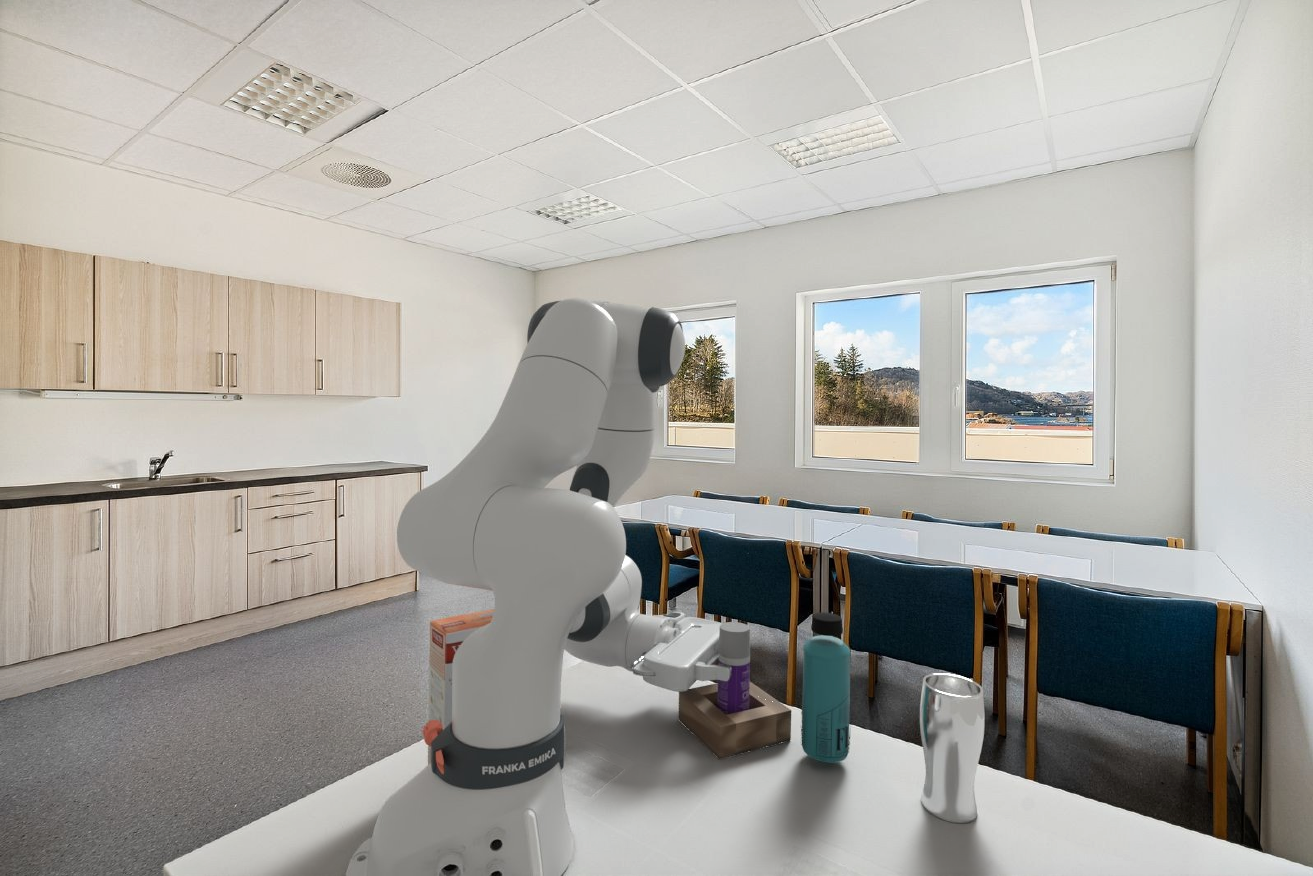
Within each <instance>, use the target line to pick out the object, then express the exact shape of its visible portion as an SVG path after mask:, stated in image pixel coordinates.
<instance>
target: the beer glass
mask: <svg viewBox="0 0 1313 876" xmlns="http://www.w3.org/2000/svg"><path fill="white" fill-rule="evenodd" d="M921 689H922V690H921V696H920V705H919V725H920V726H919V727H920V736H921V744H922V750H923V756H924V764H925V779H924V784H923V785H924V786H923V789H922V792H921V797H920V800H921V803H922V806H923V807H924V808H925V809H926V810H927V812H929V813H930V814H932V815H933V816H934V817H937V818H938V819H941V820H942V821H943V820H944V821H945V822H946V821H947V822H950V823H956V824H967V823H971V822H973V821H974V820H976V818H977V816H978V809H977V808H978V807H977V801H976V795H975V778H976V774H977V769H978V765H979V761H980V756H981V753H982V748H983V742H984V737H985V736H984V735H985V704H984V688H983V687H982V686H981V685H980V684H979V683H978V682H976V681H974V680H972V679H969V678H967V677H964V676H961V675H956V674H951V673H945V672H944V673H943V672H942V673H939V672H938V673H937V672H936V673H930V674H927V675H925V676H923V679H922V687H921Z"/></svg>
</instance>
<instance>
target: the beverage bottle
mask: <svg viewBox="0 0 1313 876" xmlns="http://www.w3.org/2000/svg"><path fill="white" fill-rule="evenodd" d="M810 625H811V626H810V629H811V632H813V633H815V634H817V635H815V636H813V637H811V638H810V639H808V640H807V641H806V642H805V643H803V646H802V647H803V648H802V651H803V653H802V654H803V658H802V659H803V662H802V666H803V667H802V693H801V694H802V695H801V697H802V698H801V710H800V711H801V712H800V715H801V717H800V718H801V725H800V739H801V743H800V745H801V747H802V750H803V751H804V753H805V755H807V756H808V757H810V758H811V759H814V760H816V761H819V762H824V763H840V762H842V761H845V760H846V759H847V757H848V756H849V753H850V750H851V749H850V748H851V745H850V744H851V735H850V725H851V721H850V719H851V714H852V713H851V710H852V708H851V702H850V701H851V699H850V696H851V695H850V694H851V691H852V688H851V655H852V653H851V649H850V647H849V646H848V645H847V644H846V643H845V642H844V641H843V640H842V639H840V638H838V637H837V636H841V635H842V634H843V633H844V630H843V629H844V628H843V618H842V617H841V616H840V615H838V614H835V613H832V612H817V613H814V614H813V615H812V619H811V624H810Z"/></svg>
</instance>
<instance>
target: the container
mask: <svg viewBox="0 0 1313 876" xmlns="http://www.w3.org/2000/svg"><path fill="white" fill-rule="evenodd" d="M750 631H751V628H750V626H749V625H748V624H746V623H742V622H737V621H736V622H734V621H729V622H728V621H727V622H722V624H721V625H720V632H719V654H718V658H717V665H719V664H725V665H730V666H731V668H732V671H731V673H732V675H731V677H730V678H729V680H728V681H721V680H717V683H718V703H717V708H718V709H720V710H721V711H722V712H723V713H724V714H726V715H728V714H732V713H737V712H741V711H745V710H749V688H750V682H751V680H750V677H751V675H750V674H751V632H750Z"/></svg>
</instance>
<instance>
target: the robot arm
mask: <svg viewBox="0 0 1313 876" xmlns="http://www.w3.org/2000/svg"><path fill="white" fill-rule="evenodd" d="M527 329H528V330H527V334H526V335H527V339H526V340H527V341H526V342H527V344H526V347H525V349H524V351H523V353H522V355H521V357H520V359H519V362H518V365H517V367H516V369H515V372H514V374H513V376H512V377H513V378H512V379H511V382H510V384H509V387H508V389H507V391H506V394H505V397H504V398H503V400H502V403H501V405H500V407H499V409H498V410H497V413H496V416H495V417H494V420H493V421H492V423H491V425H490V426H489V428H488V429H487V431H486V432H485V433H484V435H483V436H482V437H481V438H480V440H479V441H478V442H477V443H476V445H475V446H474V447H473V448H472V449H471V450H470V452H468V453H467V455H466V456H465V457H464V458H463V459H462V460H461V461H460V462H459V463H458V464H457V465H456V466H455V467H454V468H453V469H452V470H451V471H449V472H448V473H447V474H445V475H444V476H443V477H442V478H440V479H439V480H437V481H435V482H434V483H432V484H430V485H429V486H426V487H424V488H423V489H421V490H419V491H417V492H416V493H415V494H414V495H413V496H411V497H410V498H409V499H408V501H407V502H406V504H405V505H404V508H403V509H402V511H401V513H400V516H399V519H398V522H397V528H396V542H397V548H398V551H399V555H400V556H401V558H402V560H403V562H404V563H405V564H406V565H407V566H409V568H411V569H413V570H415V571H417V572H419V573H421V574H423V575H425V576H427V577H429V578H431V579H434V580H437V581H439V582H441V583H444V584H448V585H454V586H462V587H467V588H473V589H479V590H486V591H492V592H493V595H494V608H493V609H494V613H493V617H492V620H491V623H489V624H487V625H485V626H483V627H481V628H479V629H477V630H476V631H474V632H473V633H471V634H470V635H469V636H468V637H467V638H466V639H465V640H464V641H463V642H462V643H461V645H460V646H459V648H458V649H457V651H456V653H455V655H454V658H453V663H452V722H451V723H450V724H449V725H448V726H447V727H446V728H445V729H444V730H443V726H442V723H440V721H438V720H432V721H429V720H428V722H426V723H425V725H424V726H423V729H422V735H423V739H424V743H425V744H426V745H427V746H428V745H429V746H431V763H430V764H429V765H428V764H427V765H426V767H424V768H423V769H421V771H420V772H418V773H417V774H416V775H415V776H414V777H413V778H411V779H410V780H408V782H407V783H405V784H404V785H403V786H402V787H400V788H399V789H398V790H397V791H395V792H394V793H393V794H392V795H391V796H389V798H388V799H387V800H386V801H385V802H384V804H383V805H382V807H381V809H380V811H379V813H378V815H377V818H376V821H375V825H374V828H373V832H372V835H371V837H369V838H367V839H365V840H364V841H363V842H362V843H361V844H360V845H359V846H358V848H357V849H356V850H355V852H354V853H353V855H352V857H351V858H350V861H349V862H348V863H349V864H348V865H347V868H346V872H345V876H562V875H563V874H564V872H565V871H566V870H567V868H568V867H569V865H570V863H571V861H572V860H573V859H572V858H573V856H574V852H575V838H574V834H573V831H572V829H571V825H570V822H569V817H568V813H567V807H566V801H565V794H564V783H563V774H562V772H563V771H562V770H563V769H564V767H565V766H564V765H565V756H566V727H565V726H566V725H565V717H564V715H563V714H561V694H562V676H563V675H562V672H563V661H564V653H565V651H566V652H567V653H568V654H569V655H571V656H573V657H574V658H575V659H578V660H581V661H585V662H587V663H590V664H596V665H599V666H602V667H603V666H604V667H609V668H610V667H621V668H624V669H625V670H626V671H629V672H632V674H633V675H635V676H640V677H642V679H643V681H644V682H646V683H647V684H650V685H652V686H656V687H658V688H662V689H665V690H668V691H672V692H678V693H679V692H682V691H687V690H688V689H691V688H692V686H693V685H694V684H695V683H696V681H701V682H707V681H715V680H716V681H718V680H721V681H728V680H729V678H730V677H731V675H732V673H731V671H732V668H731V666H730V665H725V664H719V665H718V664H713V663H714V662H715V661H716V660H718V654H719V632H720V625H721V624H723V622H719V621H716V620H710V619H706V618H702V617H701V618H700V617H694V616H685V613H684V612H681V611H672V612H669V613H666V614H659V615H657V614H653V615H649V614H643V613H640V612H639V608H640V603H641V599H642V592H643V591H642V590H643V575H642V572H641V569H640V568H639V566H638V564H637V563H636V561H634V559H633V558H631V557H630V556H629V555H628V554H626V553H627V537H626V531H625V528H624V525H623V522H622V519H621V518H620V515H619V513H618V512H617V511H616V509H615V506H616V505H617V503H618V501H620V499H621V498H622V497H623V495H624V494H625V493H626V492H627V491H628V490H629V489H630V488H631V487H632V486H633V485H634V484H635V483H636V482H637V481H638V480H639V479H640V478H641V477H642V476H643V474H644V473H646V471H647V469H648V466H649V464H650V461H651V455H652V454H653V453H652V451H653V448H654V443H655V442H654V441H655V427H656V393H657V392H658V391H659V389H660V387H663V386H665V385H668V384H669V383H670V382H671V381H672V380H673V379H675V378H676V377H677V375H678V374H679V372H680V368H681V365H682V363H683V361H684V357H685V352H686V342H685V340H686V339H685V336H684V329H683V325H682V322H681V321H680V319H679V318H678V317H677V315H676V314H675V313H674V312H671V311H668V310H666V309H662V308H658V307H654V306H653V307H650V308H646V307H641V306H635V305H632V304H625V303H623V304H622V303H614V302H609V301H601V300H598V301H597V300H596V301H595V300H593V301H592V300H588V299H585V298H577V297H576V298H575V297H573V298H566V299H563V300H555V301H550V302H547V303H545V304H542V305H541V306H540V307H539V308H538V309H537V310H536V311H534V313H533V315H532V316H531V318H530V321H529V324H528V328H527ZM575 467H576V468H575ZM573 468H575V472H574V473H573V476H572V480H571V484H570V487H569V489H561V488H548V487H546V486H547V485H548V484H549V483H550V482H551V481H553V480H554V479H555V478H557V477H558V476H560V475H561V474H563V473H565V472H567V471H570V470H571V469H573Z"/></svg>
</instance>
